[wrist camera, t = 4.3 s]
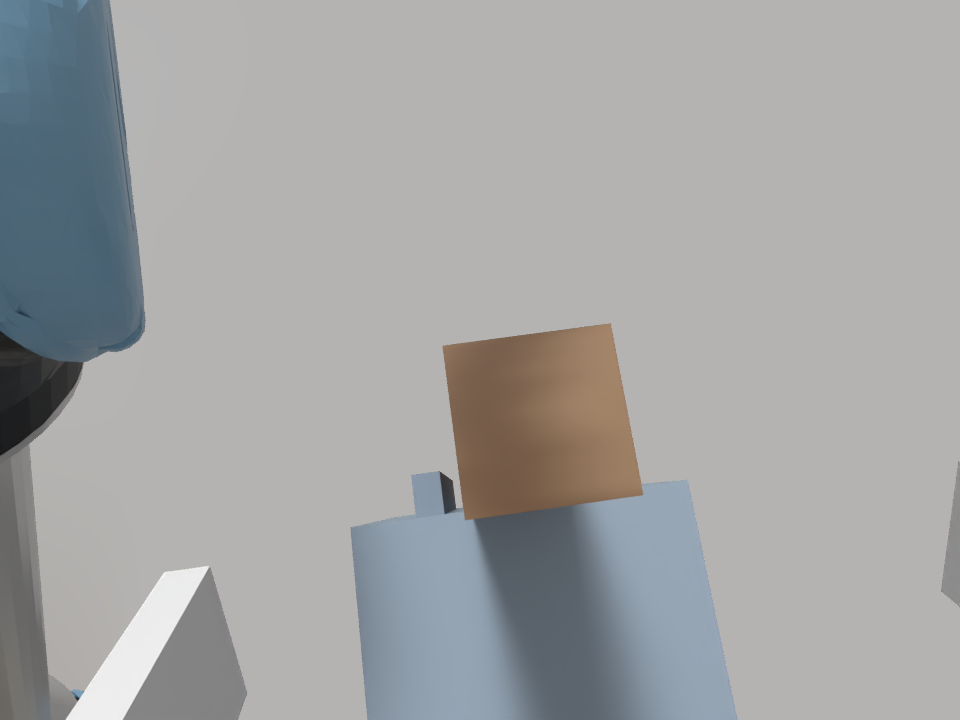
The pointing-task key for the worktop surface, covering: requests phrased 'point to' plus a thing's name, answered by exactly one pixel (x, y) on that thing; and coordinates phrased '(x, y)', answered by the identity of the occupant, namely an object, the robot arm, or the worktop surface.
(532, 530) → the tall blue prism
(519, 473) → the brown block
